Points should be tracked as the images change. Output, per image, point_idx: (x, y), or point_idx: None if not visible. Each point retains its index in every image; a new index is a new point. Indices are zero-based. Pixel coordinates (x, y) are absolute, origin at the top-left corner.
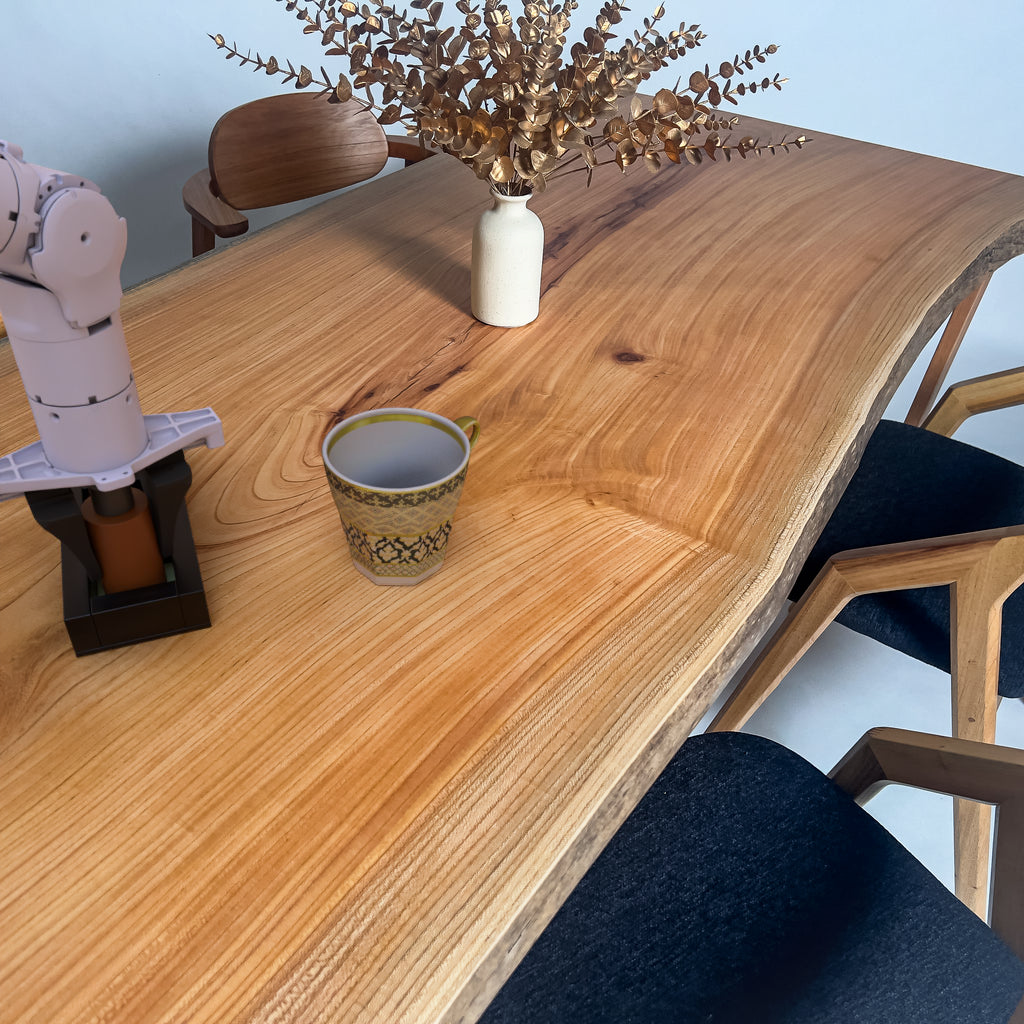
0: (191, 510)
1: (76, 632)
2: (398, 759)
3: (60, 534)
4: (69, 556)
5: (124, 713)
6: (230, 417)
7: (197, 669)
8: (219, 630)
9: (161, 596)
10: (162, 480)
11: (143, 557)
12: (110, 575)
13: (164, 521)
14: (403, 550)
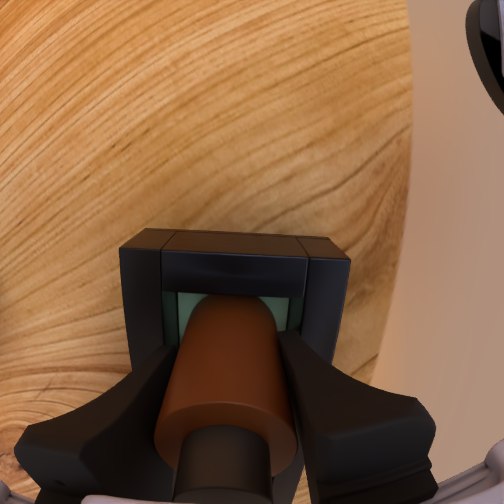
0: None
1: (330, 249)
2: None
3: (367, 391)
4: None
5: (283, 109)
6: None
7: (176, 152)
8: (136, 218)
9: (188, 258)
10: (66, 464)
11: (199, 338)
12: (264, 330)
13: (133, 387)
14: None
